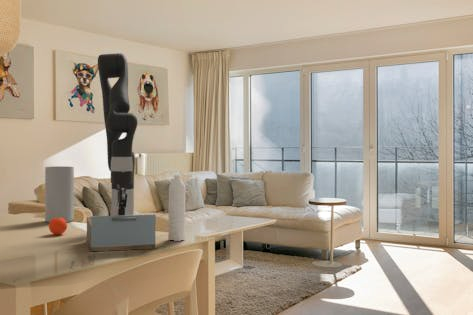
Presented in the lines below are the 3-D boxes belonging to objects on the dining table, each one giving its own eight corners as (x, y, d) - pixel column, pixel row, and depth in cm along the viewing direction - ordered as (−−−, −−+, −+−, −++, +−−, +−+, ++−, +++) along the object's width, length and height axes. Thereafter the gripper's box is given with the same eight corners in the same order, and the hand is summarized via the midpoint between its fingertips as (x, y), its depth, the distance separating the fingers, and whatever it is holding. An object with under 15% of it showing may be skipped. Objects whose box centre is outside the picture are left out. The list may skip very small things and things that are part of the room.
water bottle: (169, 241, 208) (170, 174, 208) (166, 238, 215) (167, 173, 214) (192, 240, 211) (193, 174, 210) (189, 237, 217) (189, 173, 216)
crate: (86, 241, 207) (86, 217, 207) (146, 238, 214) (146, 215, 213) (90, 251, 188) (90, 225, 188) (155, 248, 195) (155, 223, 194)
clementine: (49, 233, 225) (49, 215, 224) (67, 232, 226) (67, 215, 226) (48, 236, 217) (48, 218, 217) (66, 235, 219) (67, 217, 219)
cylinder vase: (39, 221, 256) (39, 167, 255) (62, 218, 266) (62, 166, 265) (56, 224, 248) (56, 168, 248) (79, 221, 259) (79, 167, 258)
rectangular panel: (90, 246, 188) (91, 216, 187) (154, 243, 194) (155, 214, 194) (91, 247, 185) (91, 217, 185) (155, 244, 192) (156, 215, 192)
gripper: (109, 168, 200) (108, 217, 201) (112, 170, 188) (112, 222, 188) (130, 168, 203) (129, 216, 203) (135, 170, 190) (134, 221, 190)
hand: (121, 219), depth 196 cm, fingers closed
